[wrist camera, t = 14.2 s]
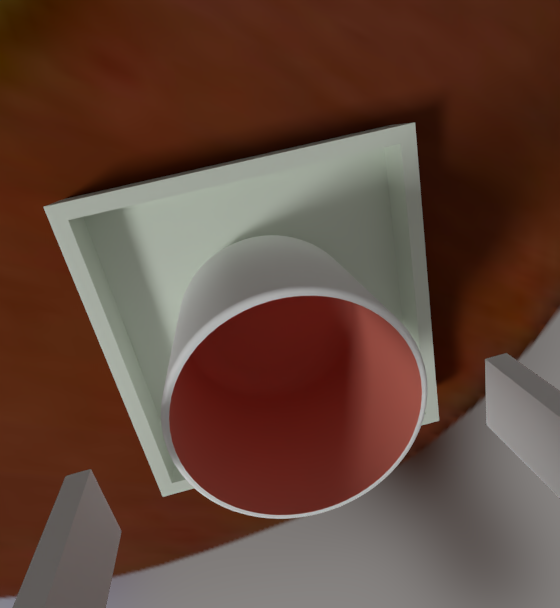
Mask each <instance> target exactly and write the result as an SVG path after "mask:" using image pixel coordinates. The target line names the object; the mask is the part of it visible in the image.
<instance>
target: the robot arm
mask: <svg viewBox="0 0 560 608" xmlns="http://www.w3.org/2000/svg"><path fill="white" fill-rule="evenodd" d="M485 376H486V424H487V426H488V427H489V428H490V429H491V430H492V431H493V432H494V433H495V434H496V435H497V436H498V437H499V438H500V439H501V440H502V441H503V442H504V443H505V444H506V445H507V446H508V447H509V448H510V449H511V450H512V451H513V452H514V453H515V454H516V455H517V456H518V457H519V458H520V459H521V460H522V461H523V462H524V463H525V464H526V465H527V466H528V467H529V468H530V469H531V470H532V471H533V472H534V473H535V474H536V475H537V476H538V477H539V478H540V479H541V480H542V481H543V482H544V483H545V484H546V485H547V486H548V487H549V488H550V489H551V490H552V491H553V492H554V493H555V494H556V495H557V496H558V497H559V498H560V391H559V390H558V389H556V388H555V387H554V386H552V385H551V384H549V383H548V382H546V381H545V380H544V379H542V378H541V377H539V376H538V375H537V374H535V373H534V372H532V371H531V370H530V369H528V368H527V367H525V366H524V365H522V364H521V363H520V362H518V361H517V360H515V359H514V358H513V357H511V356H510V355H508V354H507V353H505V354H502V355H498V356H495V357H491V358H487V359H485ZM120 536H121V529H120V527H119V525H118V523H117V521H116V519H115V517H114V515H113V513H112V511H111V509H110V507H109V505H108V503H107V501H106V499H105V497H104V495H103V493H102V491H101V489H100V487H99V485H98V483H97V481H96V479H95V477H94V475H93V473H92V471H91V469H89V470H86V471H82V472H79V473H75V474H72V475H68V476H66V477H65V479H64V482H63V484H62V487H61V489H60V492H59V494H58V497H57V499H56V502H55V504H54V507H53V509H52V512H51V514H50V517H49V519H48V521H47V524H46V526H45V529H44V531H43V534H42V536H41V539H40V541H39V544H38V546H37V549H36V551H35V554H34V556H33V559H32V561H31V564H30V566H29V568H28V571H27V573H26V576H25V578H24V581H23V583H22V586H21V588H20V591H19V593H18V596H17V598H16V601H15V603H14V606H13V608H106V604H107V599H108V594H109V589H110V584H111V580H112V575H113V570H114V565H115V560H116V555H117V550H118V546H119V541H120Z"/></svg>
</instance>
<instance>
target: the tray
mask: <svg viewBox="0 0 560 608" xmlns="http://www.w3.org/2000/svg"><path fill="white" fill-rule="evenodd" d="M44 210H45V212H46V215H47V217H48V219H49V222H50V224H51V227H52V229H53V231H54V234H55V236H56V239H57V241H58V244H59V246H60V248H61V251H62V253H63V256H64V258H65V261H66V263H67V265H68V268H69V270H70V273H71V275H72V278H73V280H74V282H75V285H76V287H77V290H78V292H79V295H80V297H81V299H82V302H83V304H84V307H85V309H86V312H87V314H88V316H89V319H90V321H91V324H92V326H93V329H94V331H95V333H96V336H97V338H98V341H99V343H100V346H101V348H102V350H103V353H104V355H105V358H106V360H107V363H108V365H109V367H110V370H111V372H112V375H113V377H114V380H115V382H116V384H117V387H118V389H119V392H120V394H121V397H122V399H123V401H124V404H125V406H126V409H127V411H128V414H129V416H130V418H131V421H132V423H133V426H134V428H135V431H136V433H137V435H138V438H139V440H140V443H141V445H142V448H143V450H144V452H145V455H146V457H147V460H148V462H149V465H150V467H151V469H152V472H153V474H154V477H155V479H156V482H157V484H158V486H159V489H160V491H161V494H162V496H163V497H164V496H168V495H171V494H175V493H179V492H182V491H186V490H190V489H193V488H194V487H193V486H192V485H190V484H189V482H188V481H187V480H186V479H185V478H184V477H183V476H182V474H181V473H180V472H179V470H178V469H177V467H176V466H175V464H174V463H173V460H172V458H171V456H170V454H169V452H168V450H167V447H166V443H165V440H164V437H163V432H162V425H161V403H162V396H163V391H164V386H165V381H166V376H167V371H168V366H169V361H170V356H171V351H172V346H173V341H174V336H175V331H176V326H177V321H178V316H179V311H180V306H181V303H182V299H183V296H184V294H185V291H186V289H187V287H188V285H189V283H190V282H191V280H192V278H193V277H194V275H195V274H196V273H197V271H198V270H199V269H200V268H201V267H202V265H203V264H204V263H205V262H206V261H207V260H209V259H210V258H211V257H212V256H213V255H215V254H216V253H218V252H219V251H221V250H222V249H224V248H226V247H227V246H229V245H232V244H234V243H236V242H239V241H241V240H244V239H248V238H252V237H258V236H267V235H279V236H288V237H293V238H297V239H300V240H303V241H306V242H308V243H311V244H313V245H315V246H317V247H319V248H320V249H322V250H323V251H325V252H326V253H328V254H329V255H330V256H331V257H332V258H334V259H335V260H336V261H337V262H338V263H339V264H340V265H341V266H342V267H343V268H344V269H345V270H346V271H347V272H349V273H350V274H351V275H352V276H353V277H354V278H355V279H356V280H357V281H358V282H359V283H360V284H361V285H362V286H363V287H364V288H366V289H367V290H368V291H369V292H370V293H371V294H372V295H373V296H374V297H375V298H376V299H377V300H378V301H379V302H380V303H381V304H383V305H384V306H385V307H386V308H387V309H388V310H389V311H390V312H391V313H392V314H393V315H394V316H395V317H396V318H397V319H398V320H399V321H400V322H401V323H402V324H403V325H404V326H405V327H406V329H407V330H408V331H409V333H410V334H411V336H412V337H413V339H414V340H415V342H416V344H417V346H418V348H419V351H420V353H421V356H422V359H423V362H424V365H425V370H426V376H427V392H428V393H427V403H426V409H425V414H424V418H423V421H422V424H421V425H425V424H429V423H432V422H436V421H439V413H438V401H437V388H436V376H435V363H434V351H433V338H432V326H431V313H430V301H429V288H428V276H427V264H426V251H425V239H424V226H423V214H422V201H421V189H420V176H419V164H418V151H417V139H416V126H415V122H414V123H405V124H395V125H388V126H384V127H380V128H375V129H371V130H366V131H362V132H358V133H353V134H349V135H344V136H340V137H336V138H331V139H327V140H322V141H318V142H314V143H309V144H305V145H300V146H296V147H292V148H287V149H283V150H278V151H274V152H270V153H265V154H261V155H256V156H252V157H247V158H243V159H239V160H234V161H230V162H225V163H221V164H217V165H212V166H208V167H203V168H199V169H195V170H190V171H186V172H181V173H177V174H173V175H168V176H164V177H159V178H155V179H151V180H146V181H142V182H137V183H133V184H128V185H124V186H120V187H115V188H111V189H106V190H102V191H98V192H93V193H89V194H84V195H80V196H76V197H71V198H67V199H63V200H61V201H58V202H55V203H53V204H50V205H47V206H44Z"/></svg>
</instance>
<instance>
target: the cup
mask: <svg viewBox="0 0 560 608" xmlns="http://www.w3.org/2000/svg"><path fill="white" fill-rule="evenodd" d="M427 393H428V392H427V376H426V370H425V365H424V362H423V359H422V356H421V353H420V351H419V348H418V346H417V344H416V342H415V340H414V339H413V337H412V336H411V334H410V333H409V331H408V330H407V329H406V327H405V326H404V325H403V324H402V323H401V322H400V321H399V320H398V319H397V318H396V317H395V316H394V315H393V314H392V313H391V312H390V311H389V310H388V309H387V308H386V307H385V306H384V305H383V304H381V303H380V302H379V301H378V300H377V299H376V298H375V297H374V296H373V295H372V294H371V293H370V292H369V291H368V290H367V289H366V288H364V287H363V286H362V285H361V284H360V283H359V282H358V281H357V280H356V279H355V278H354V277H353V276H352V275H351V274H350V273H349V272H347V271H346V270H345V269H344V268H343V267H342V266H341V265H340V264H339V263H338V262H337V261H336V260H335V259H334V258H332V257H331V256H330V255H329V254H328V253H326V252H325V251H323V250H322V249H320V248H319V247H317V246H315V245H313V244H311V243H308V242H306V241H303V240H300V239H297V238H293V237H288V236H279V235H267V236H258V237H252V238H248V239H244V240H241V241H239V242H236V243H234V244H232V245H229V246H227V247H226V248H224V249H222V250H221V251H219V252H218V253H216V254H215V255H213V256H212V257H211V258H210V259H209V260H207V261H206V262H205V263H204V264H203V265H202V267H201V268H200V269H199V270H198V271H197V273H196V274H195V275H194V277H193V278H192V280H191V282H190V283H189V285H188V287H187V289H186V291H185V294H184V296H183V299H182V303H181V306H180V311H179V316H178V321H177V326H176V331H175V336H174V341H173V346H172V351H171V356H170V361H169V366H168V371H167V376H166V381H165V386H164V391H163V396H162V403H161V425H162V432H163V437H164V440H165V443H166V447H167V450H168V452H169V454H170V456H171V458H172V460H173V463H174V464H175V466H176V467H177V469H178V470H179V472H180V473H181V474H182V476H183V477H184V478H185V479H186V480H187V481H188V482H189V484H190V485H192V486H193V487H194V488H195V489H196V490H197V491H198V492H200V493H201V494H202V495H204V496H205V497H207V498H208V499H210V500H211V501H213V502H215V503H217V504H219V505H221V506H223V507H225V508H228V509H230V510H232V511H235V512H239V513H242V514H246V515H250V516H255V517H263V518H277V519H282V518H298V517H304V516H310V515H315V514H319V513H323V512H325V511H329V510H332V509H335V508H337V507H340V506H342V505H344V504H347V503H349V502H351V501H353V500H354V499H356V498H358V497H360V496H362V495H363V494H365V493H367V492H368V491H369V490H371V489H372V488H374V487H375V486H376V485H377V484H379V483H380V482H381V481H382V480H384V479H385V478H386V477H387V476H388V475H389V474H390V473H391V472H392V471H393V470H394V469H395V468H396V467H397V466H398V464H399V463H400V462H401V460H402V459H403V458H404V456H405V455H406V454H407V452H408V451H409V449H410V447H411V446H412V444H413V442H414V441H415V438H416V436H417V434H418V432H419V430H420V427H421V424H422V421H423V418H424V414H425V409H426V403H427Z"/></svg>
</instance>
